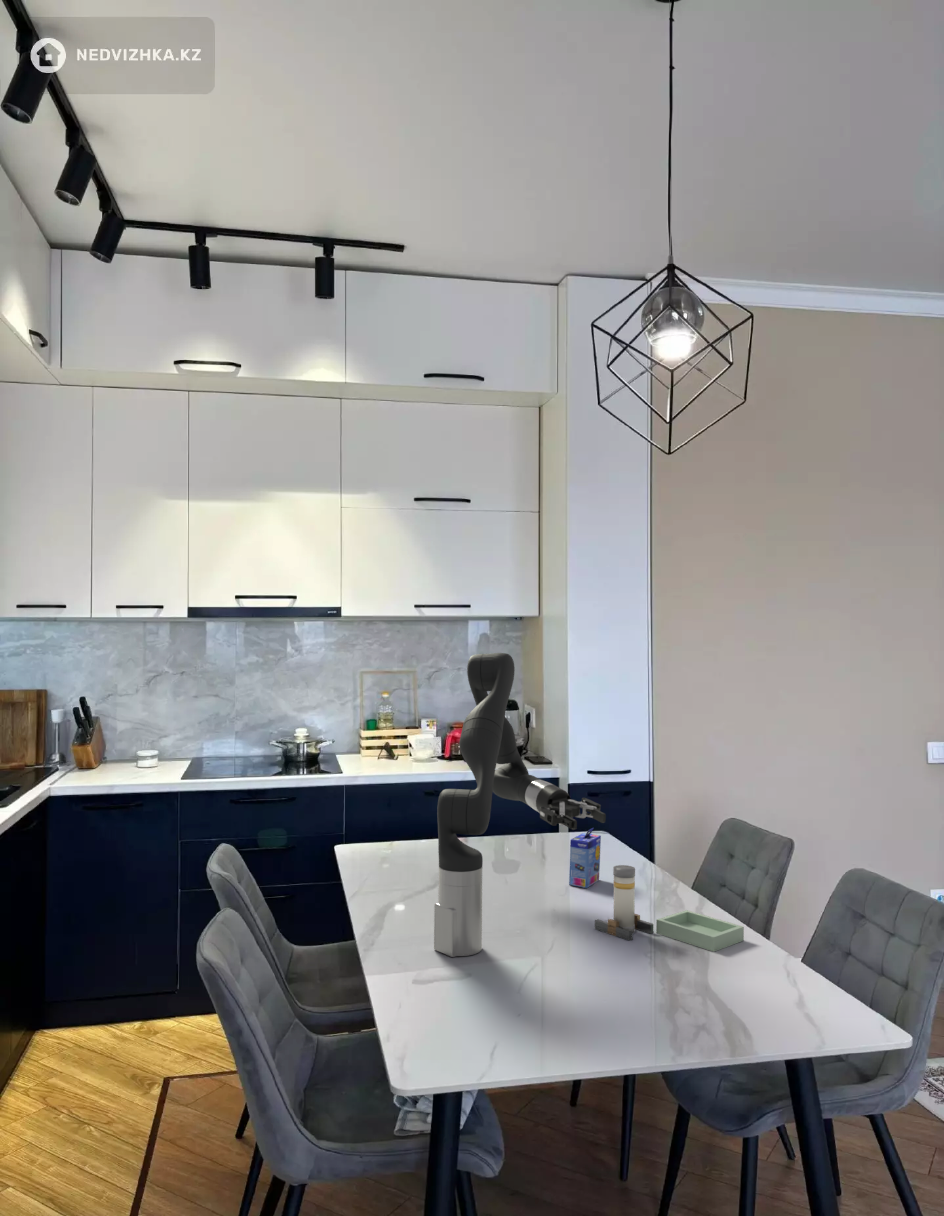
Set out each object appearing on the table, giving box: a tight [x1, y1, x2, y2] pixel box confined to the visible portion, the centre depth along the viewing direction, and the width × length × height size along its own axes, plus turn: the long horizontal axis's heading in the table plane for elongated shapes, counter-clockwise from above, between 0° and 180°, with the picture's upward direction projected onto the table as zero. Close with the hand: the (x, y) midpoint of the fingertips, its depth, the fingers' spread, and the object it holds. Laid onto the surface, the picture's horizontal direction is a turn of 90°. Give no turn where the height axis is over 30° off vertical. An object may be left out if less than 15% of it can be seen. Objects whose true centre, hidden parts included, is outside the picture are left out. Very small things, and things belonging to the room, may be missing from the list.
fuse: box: [612, 864, 636, 935], centre depth 204 cm, size 5×5×14 cm
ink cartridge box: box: [568, 827, 602, 889], centre depth 243 cm, size 10×6×14 cm, turn 152°
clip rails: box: [594, 912, 654, 941], centre depth 204 cm, size 8×10×3 cm
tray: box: [655, 909, 745, 953], centre depth 200 cm, size 11×15×3 cm
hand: (590, 822), depth 209 cm, fingers open, 8 cm apart
